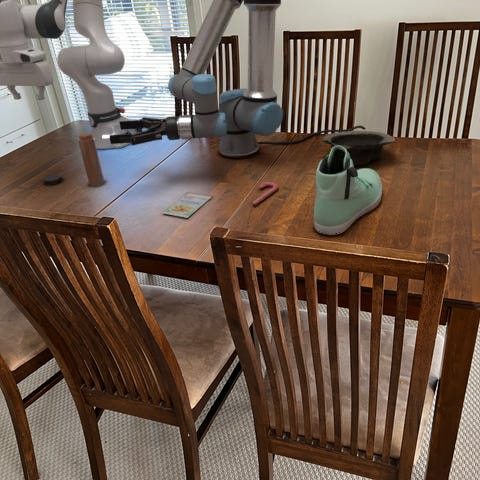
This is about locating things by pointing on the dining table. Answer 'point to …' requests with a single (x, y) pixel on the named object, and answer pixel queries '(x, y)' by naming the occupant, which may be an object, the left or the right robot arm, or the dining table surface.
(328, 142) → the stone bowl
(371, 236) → the dining table surface
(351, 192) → the sneaker
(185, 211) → the baking ingredient package
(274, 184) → the candy cane
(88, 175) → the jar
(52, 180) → the lid
